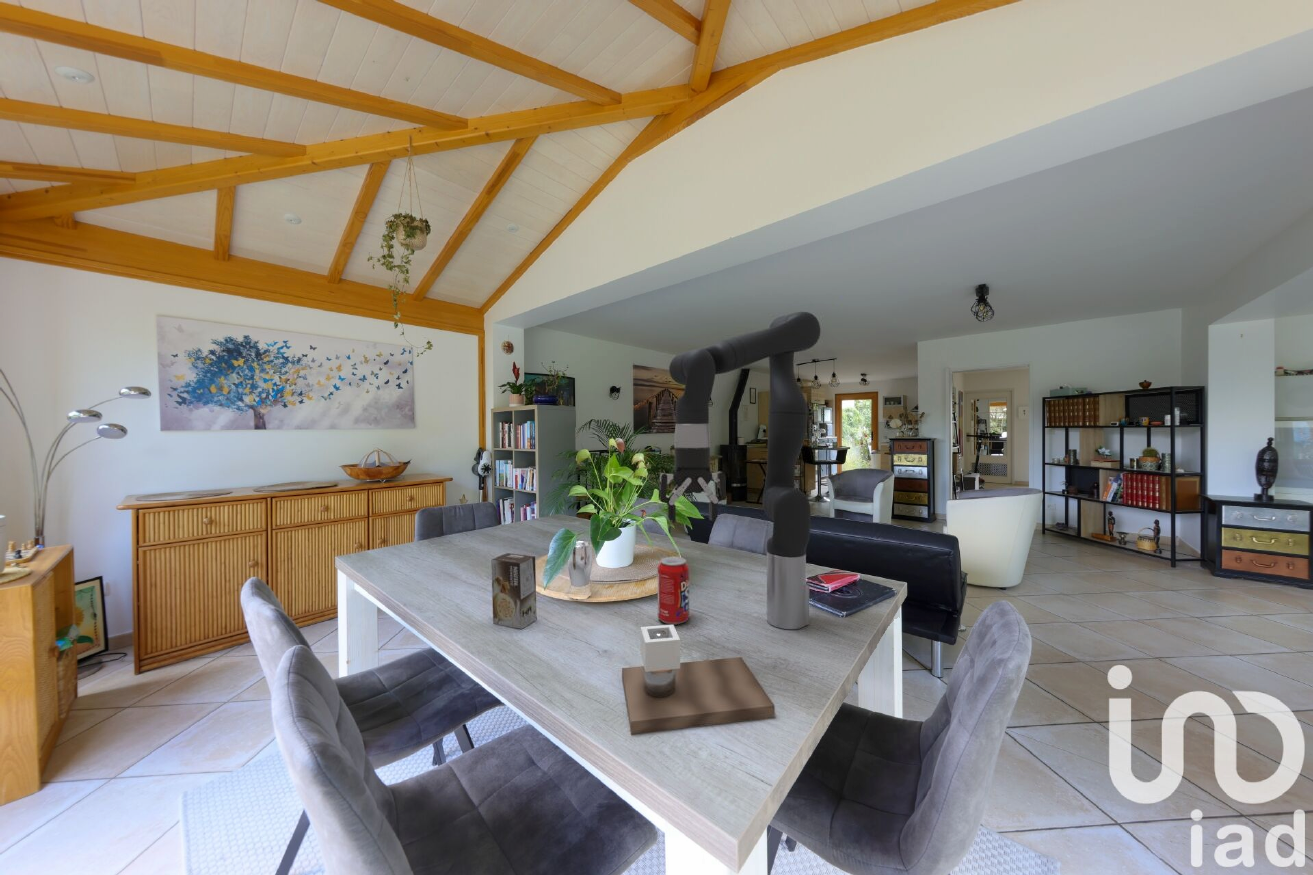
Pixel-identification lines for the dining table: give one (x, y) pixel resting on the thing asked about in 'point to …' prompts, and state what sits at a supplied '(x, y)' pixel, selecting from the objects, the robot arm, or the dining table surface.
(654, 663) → the collar
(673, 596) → the soda can
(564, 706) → the dining table surface
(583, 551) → the beer glass
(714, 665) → the pipe stand
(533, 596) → the coffee box
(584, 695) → the dining table surface
